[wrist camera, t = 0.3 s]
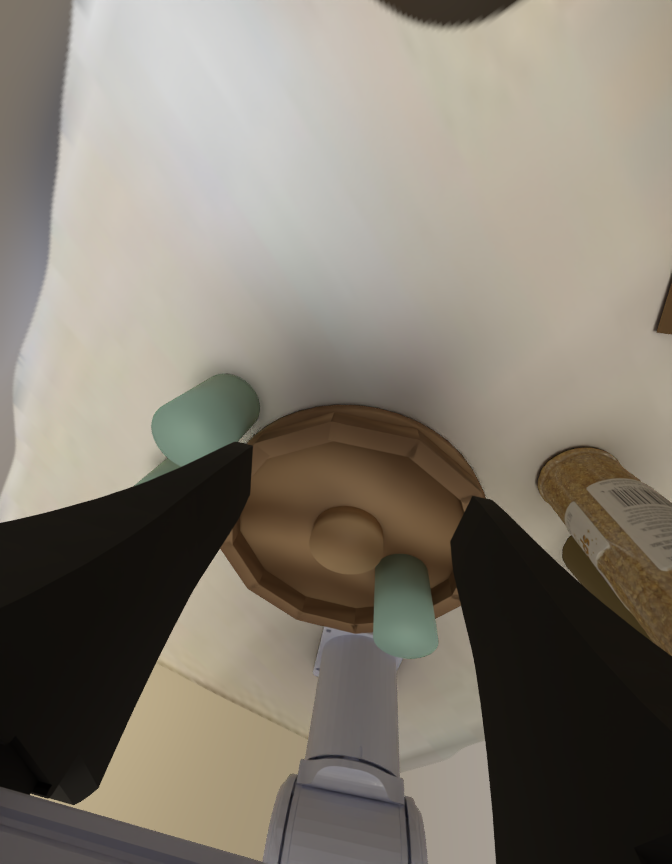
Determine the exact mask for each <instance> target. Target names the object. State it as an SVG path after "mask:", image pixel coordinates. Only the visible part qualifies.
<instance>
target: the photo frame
mask: <svg viewBox="0 0 672 864" xmlns="http://www.w3.org/2000/svg"><path fill="white" fill-rule="evenodd" d="M657 333H665V334H672V284H671V287H670V290H669V293H668V296H667V300H666V303H665V306H664V309H663V313H662V316H661V319H660V322H659V325H658V329H657Z"/></svg>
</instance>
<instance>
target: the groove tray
mask: <svg viewBox="0 0 672 864" xmlns="http://www.w3.org/2000/svg"><path fill="white" fill-rule="evenodd" d="M247 444H249V445H253V456H252V473H251V490H250V496H249V498H248V500H247V503H246V505H245V507H244V509H243V511H242V513H241V515H240V517H239V519H238V521H237V523H236V524H235V526H234V527H233V529H232V531H231V532H230V534H229V535H228V537H227V538H226V540H225V541H224V543H223V545H222V546H221V548H220V549H221V550H222V552H223V553H224V555H225V556H226V558H227V559H228V561H229V562H230V564H231V565H232V566H233V568H234V569H235V571H236V572H237V574H238V575H239V577H240V578H241V580H242V581H243V583H244V584H245V585H246V587H247V588H248V589H249V590H251V591H252V592H254V593H255V594H257V595H259V596H260V597H262V598H263V599H265V600H266V601H268V602H270V603H271V604H273V605H274V606H276V607H277V608H279V609H281V610H282V611H284V612H285V613H287V614H289V615H290V616H292V617H293V618H295V619H296V620H300V621H304V622H308V623H313V624H317V625H321V626H325V627H329V628H333V629H337V630H341V631H345V632H350V633H354V634H360V633H372V632H373V623H374V590H375V567H376V566H377V565H378V564H379V562H380V561H381V559H382V558H384V557H386V556H388V555H392V554H407V555H411V556H414V557H416V558H418V559H419V560H421V561H422V562H423V563H424V564H425V565H426V567H427V570H428V575H429V582H430V588H431V595H432V602H433V609H434V615H435V619H436V618H438V617H440V616H442V615H444V614H446V613H447V612H449V611H451V610H453V609H455V608H457V607H459V606H461V603H460V599H459V595H458V591H457V587H456V582H455V578H454V573H453V566H452V558H451V546H450V541H451V539H452V537H453V534H454V532H455V530H456V528H457V526H458V524H459V522H460V520H461V518H462V516H463V514H464V512H465V510H466V508H467V506H468V504H469V502H470V500H471V498H472V496H477V497H481V498H485V499H486V497H485V494H484V492H483V490H482V487H481V485H480V483H479V481H478V479H477V477H476V475H475V473H474V471H473V469H472V468H471V467H470V465H469V464H468V463H467V461H466V460H465V459H464V457H463V456H462V455H461V454H460V453H459V452H458V451H457V450H456V449H455V448H454V447H453V446H452V445H451V444H450V443H449V442H448V441H447V440H445V439H444V438H443V437H441V436H440V435H439V434H437V433H436V432H435V431H433V430H431V429H430V428H428V427H426V426H424V425H423V424H421V423H419V422H417V421H415V420H413V419H410V418H408V417H405V416H403V415H400V414H398V413H394V412H391V411H387V410H383V409H380V408H374V407H367V406H360V405H329V406H319V407H314V408H310V409H305V410H301V411H298V412H295V413H292V414H290V415H287V416H284V417H282V418H280V419H278V420H276V421H275V422H273V423H271V424H269V425H267V426H266V427H265V428H263V429H262V430H261V431H260V432H258V433H257V434H256V435H254V436H253V437H252V439H251V440H250V441H249V442H248V443H247Z"/></svg>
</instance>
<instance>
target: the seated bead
mask: <svg viewBox="0 0 672 864" xmlns="http://www.w3.org/2000/svg"><path fill="white" fill-rule="evenodd" d="M373 640H374V642H375V644H376V645H377V647H378V648H380V649H381V650H382V651H384V652H385V653H387V654H389V655H392V656H395V657H399V658H406V659H414V658H421V657H425V656H427V655H429V654H431V653H432V652H434V651H435V649H436V648H437V646H438V635H437V629H436V622H435V615H434V609H433V602H432V595H431V588H430V582H429V575H428V570H427V567H426V565H425V564H424V563H423V562H422V561H421V560H419V559H418V558H416V557H414V556H411V555H407V554H392V555H388V556H386V557H384V558H382V559H381V561H380V562H379V564H378V565H377V566H376V567H375V590H374V623H373Z"/></svg>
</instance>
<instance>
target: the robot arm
mask: <svg viewBox="0 0 672 864" xmlns="http://www.w3.org/2000/svg"><path fill="white" fill-rule="evenodd" d="M252 456H253V445H249V444H244V443H240V442H236V441H235V442H233V443H230V444H228V445H226V446H224V447H222V448H220V449H217V450H215V451H213V452H211V453H209V454H207V455H205V456H203V457H201V458H199V459H197V460H195V461H193V462H190V463H188V464H186V465H184V466H182V467H180V468H177V469H175V470H173V471H170V472H168V473H165V474H163V475H161V476H158V477H156V478H154V479H151V480H149V481H146V482H144V483H141V484H139V485H136V486H133V487H130V488H128V489H125V490H122V491H119V492H116V493H113V494H110V495H107V496H104V497H101V498H97V499H94V500H90V501H87V502H83V503H80V504H76V505H72V506H69V507H65V508H62V509H58V510H54V511H51V512H47V513H43V514H39V515H34V516H30V517H26V518H21V519H17V520H12V521H8V522H3V523H0V864H428V861H427V849H426V839H425V831H424V825H423V820H422V815H421V813H420V811H419V809H418V808H417V806H416V805H415V802H414V800H413V798H411V797H408V796H405V797H404V780H403V778H400V767H399V735H398V703H397V670H398V668H399V665H400V663H401V661H402V659H403V658H399V657H395V656H392V655H389V654H387V653H385V652H384V651H382V650H381V649H380V648H378V647H377V645H376V644H375V642H374V640H373V632H372V633H360V634H354V633H350V632H345V631H341V630H337V629H333V628H329V627H325V626H324V629H323V633H322V637H321V641H320V645H319V649H318V653H317V657H316V661H315V665H314V669H313V674H314V675H315V676H317V677H318V683H317V689H316V695H315V701H314V707H313V713H312V719H311V726H310V732H309V738H308V744H307V750H306V756H305V759H301V761H300V765H299V771H298V775H297V774H290V775H289V776H288V778H287V780H286V781H285V782H284V783H283V784H282V785H281V787H280V789H279V792H278V794H277V797H276V801H275V804H274V808H273V812H272V816H271V820H270V825H269V829H268V834H267V839H266V845H265V850H264V856H263V862H261V861H258V860H254V859H251V858H247V857H244V856H240V855H237V854H233V853H230V852H226V851H223V850H219V849H216V848H212V847H209V846H205V845H201V844H198V843H195V842H191V841H187V840H184V839H181V838H177V837H174V836H170V835H167V834H163V833H160V832H156V831H153V830H149V829H146V828H142V827H139V826H135V825H132V824H129V823H125V822H122V821H118V820H114V819H111V818H108V817H104V816H101V815H97V814H94V813H90V812H87V811H83V810H79V809H76V808H73V807H69V806H66V805H62V804H58V803H55V802H51V801H48V800H45V799H41V798H38V797H34V796H31V795H30V794H34V795H38V796H41V797H44V798H51V799H54V800H58V801H62V802H65V803H68V804H72V805H75V804H77V803H79V802H81V801H82V800H84V799H85V798H87V797H88V796H90V795H91V794H92V793H93V792H94V791H95V790H97V789H98V788H99V785H100V783H101V781H102V778H103V776H104V774H105V772H106V769H107V767H108V765H109V763H110V761H111V758H112V756H113V754H114V752H115V749H116V747H117V745H118V743H119V741H120V738H121V736H122V734H123V732H124V730H125V727H126V725H127V722H128V721H129V719H130V716H131V714H132V712H133V710H134V707H135V706H136V703H137V701H138V699H139V697H140V695H141V693H142V691H143V689H144V687H145V685H146V683H147V681H148V678H149V676H150V674H151V672H152V670H153V668H154V666H155V664H156V662H157V660H158V658H159V656H160V654H161V652H162V650H163V648H164V646H165V644H166V642H167V640H168V638H169V636H170V634H171V632H172V630H173V628H174V626H175V624H176V622H177V620H178V618H179V616H180V614H181V613H182V611H183V609H184V607H185V605H186V603H187V601H188V599H189V597H190V595H191V594H192V592H193V590H194V588H195V587H196V585H197V583H198V582H199V580H200V578H201V577H202V575H203V574H204V572H205V571H206V569H207V568H208V566H209V565H210V563H211V562H212V560H213V558H214V557H215V555H216V554H217V552H218V551H219V549H220V548H221V546H222V545H223V543H224V541H225V540H226V538H227V537H228V535H229V534H230V532H231V531H232V529H233V527H234V526H235V524H236V523H237V521H238V519H239V517H240V515H241V513H242V511H243V509H244V507H245V505H246V503H247V500H248V498H249V496H250V490H251V473H252ZM450 546H451V558H452V566H453V573H454V578H455V582H456V587H457V591H458V595H459V599H460V603H461V607H462V611H463V615H464V620H465V624H466V628H467V632H468V636H469V640H470V644H471V648H472V653H473V658H474V663H475V669H476V675H477V682H478V689H479V696H480V703H481V710H482V718H483V726H484V734H485V742H486V751H487V760H488V770H489V781H490V791H491V801H492V812H493V825H494V839H495V853H496V864H672V656H671V655H670V654H668V653H667V652H665V651H664V650H663V649H661V648H660V647H659V646H657V645H656V644H654V643H653V642H652V641H650V640H649V639H648V638H647V637H645V636H644V635H643V634H641V633H640V632H639V631H637V630H636V629H635V628H634V627H632V626H631V625H630V624H628V623H627V622H626V621H625V620H624V619H622V618H621V617H620V616H619V615H617V614H616V613H615V612H614V611H612V610H611V609H610V608H609V607H607V606H606V605H605V604H604V603H602V602H601V601H600V600H599V599H598V598H597V597H595V596H594V595H593V594H592V593H591V592H589V591H588V590H587V589H586V588H585V587H584V586H583V585H582V584H580V583H579V582H578V581H577V580H576V579H575V578H574V577H573V576H572V575H570V574H569V573H568V572H567V571H566V570H565V569H564V568H563V567H562V566H560V565H559V564H558V563H557V562H556V561H555V560H554V559H553V558H552V557H551V556H550V555H549V554H548V553H547V552H546V551H545V550H544V549H543V548H542V547H541V546H539V545H538V544H537V543H536V542H535V541H534V540H533V539H532V538H531V537H530V536H529V535H528V534H527V533H526V532H525V531H524V530H523V529H522V528H521V527H520V526H519V525H518V524H517V523H516V522H515V521H514V520H513V519H512V518H511V517H510V516H509V515H508V514H507V513H506V512H505V511H504V510H503V509H502V508H501V507H499V506H498V505H497V504H496V503H495V502H494V501H492V500H490V499H485V498H481V497H477V496H472V498H471V500H470V502H469V504H468V506H467V508H466V510H465V512H464V514H463V516H462V518H461V520H460V522H459V524H458V526H457V528H456V530H455V532H454V534H453V537H452V539H451V541H450Z"/></svg>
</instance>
